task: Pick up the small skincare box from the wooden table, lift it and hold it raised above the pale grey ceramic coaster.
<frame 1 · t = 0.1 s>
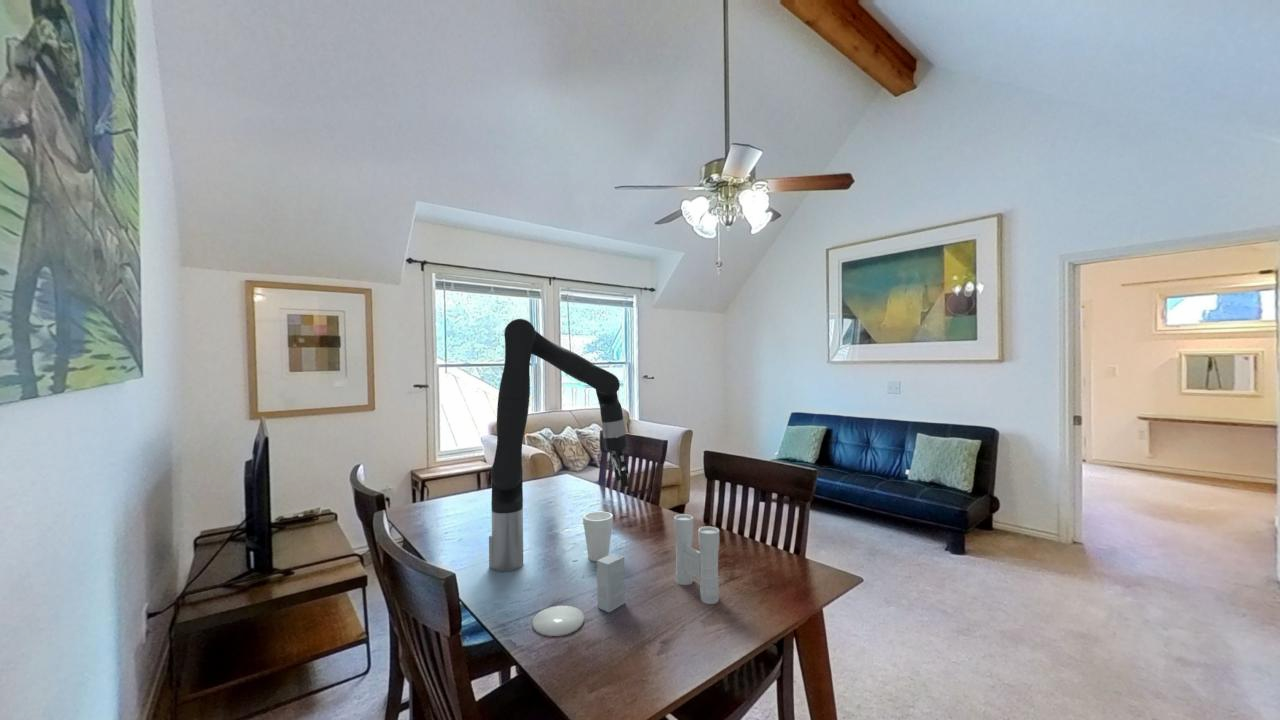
hand: (622, 483, 154), 22 cm above the table, tool pointing down, fingers open, 8 cm apart
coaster: (558, 621, 113), on the table
foam cup: (598, 557, 150), on the table
skincare box: (611, 606, 120), on the table
binoculars: (696, 590, 128), on the table
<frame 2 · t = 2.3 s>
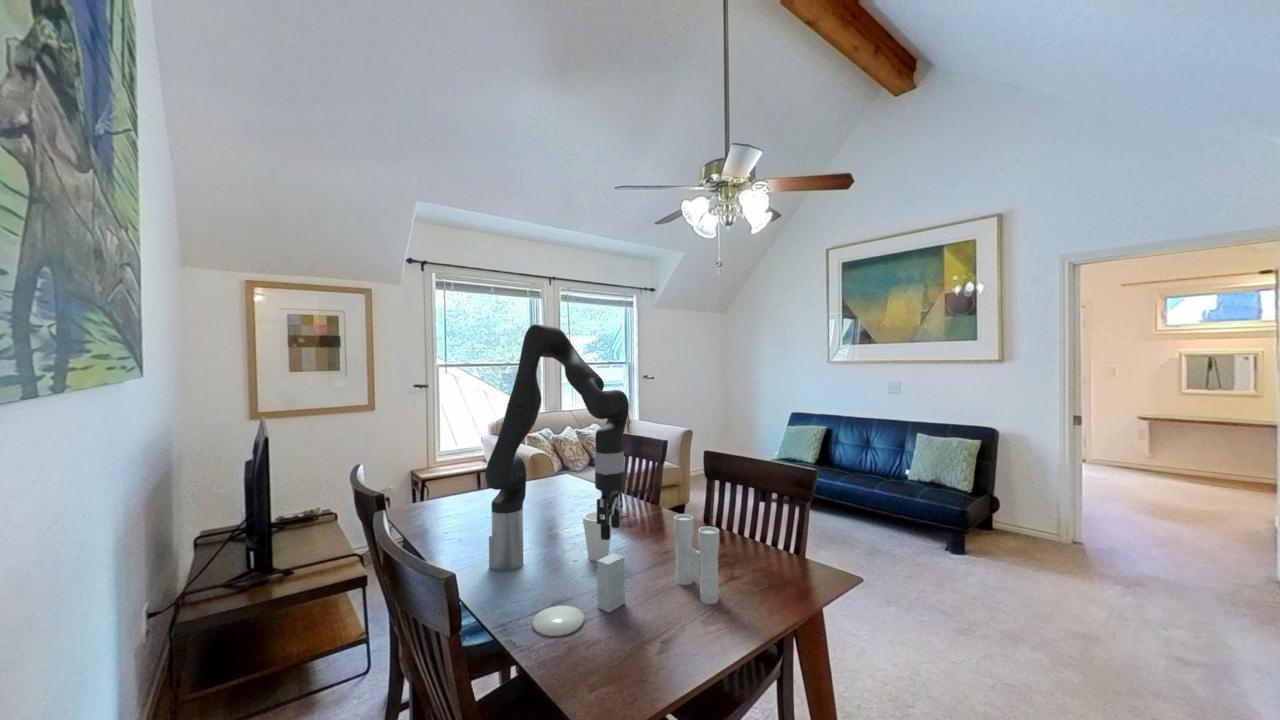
hand: (610, 533, 120), 18 cm above the table, tool pointing down, fingers open, 8 cm apart
nothing on the table moved.
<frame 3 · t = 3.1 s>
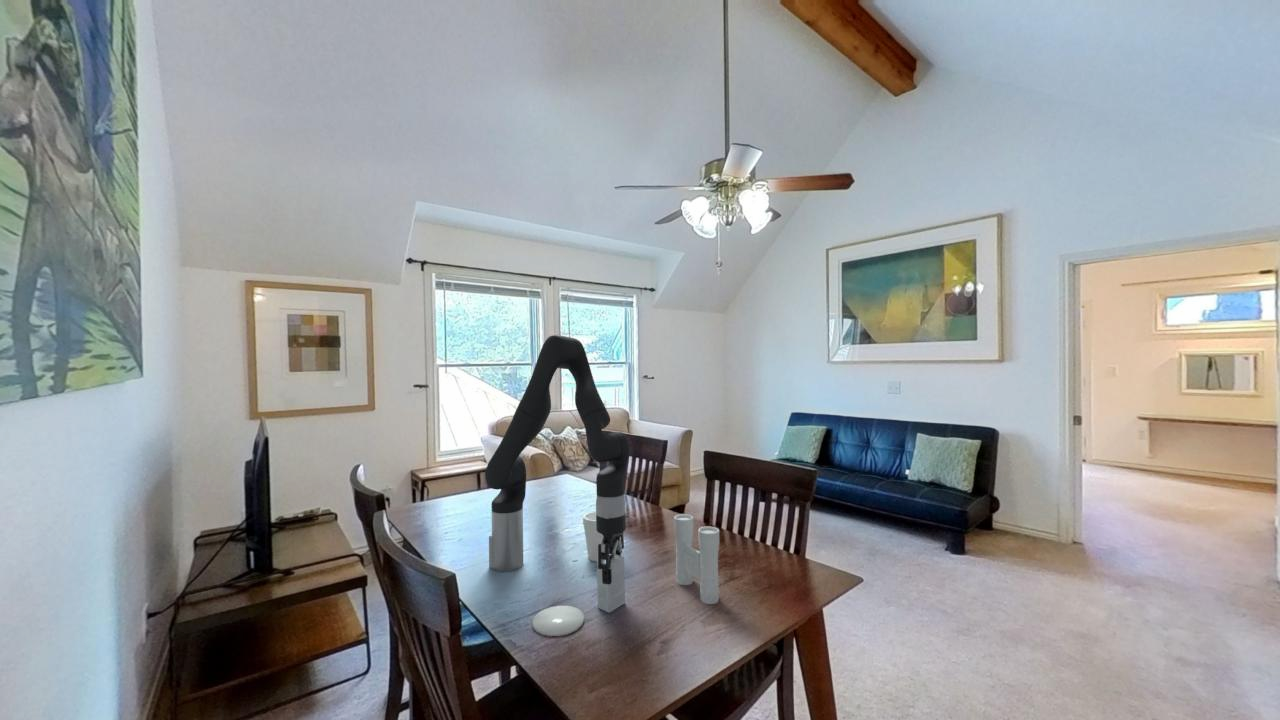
hand: (612, 575, 120), 7 cm above the table, tool pointing down, fingers open, 8 cm apart
nothing on the table moved.
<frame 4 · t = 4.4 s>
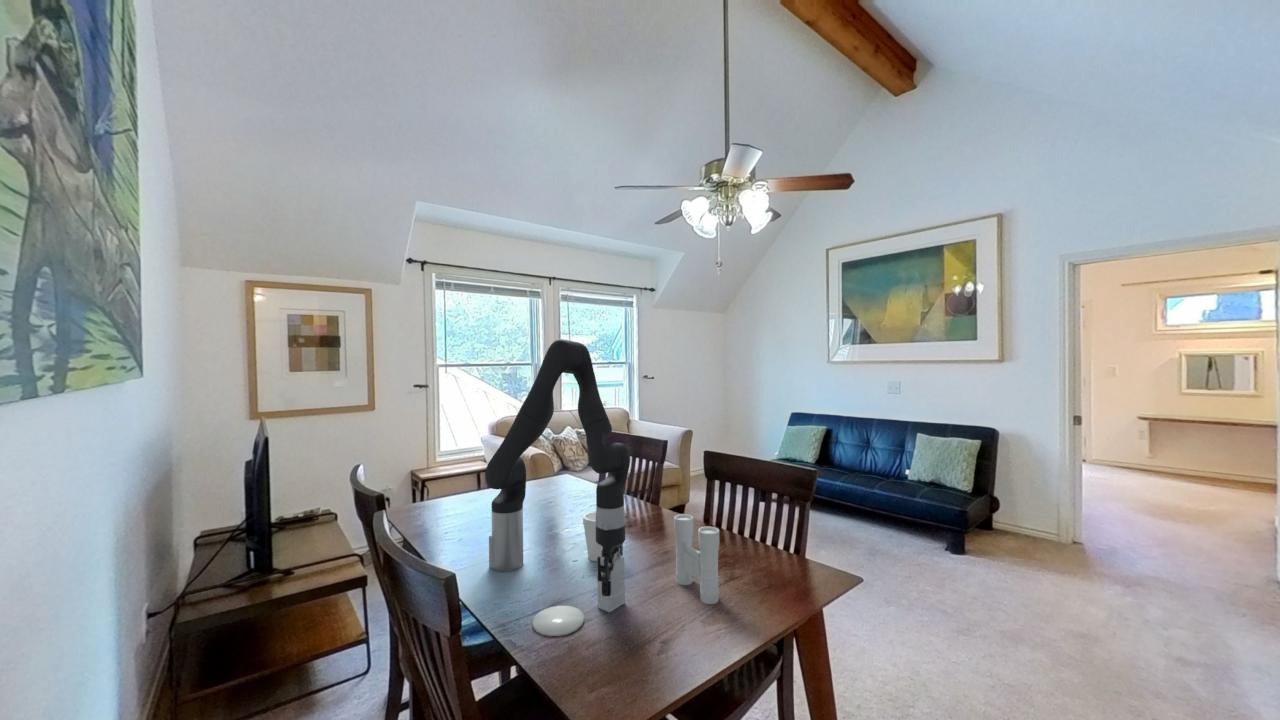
hand: (611, 588, 120), 4 cm above the table, tool pointing down, fingers closed on skincare box, 7 cm apart
skincare box: (611, 606, 120), on the table, touching gripper
everything else where it was.
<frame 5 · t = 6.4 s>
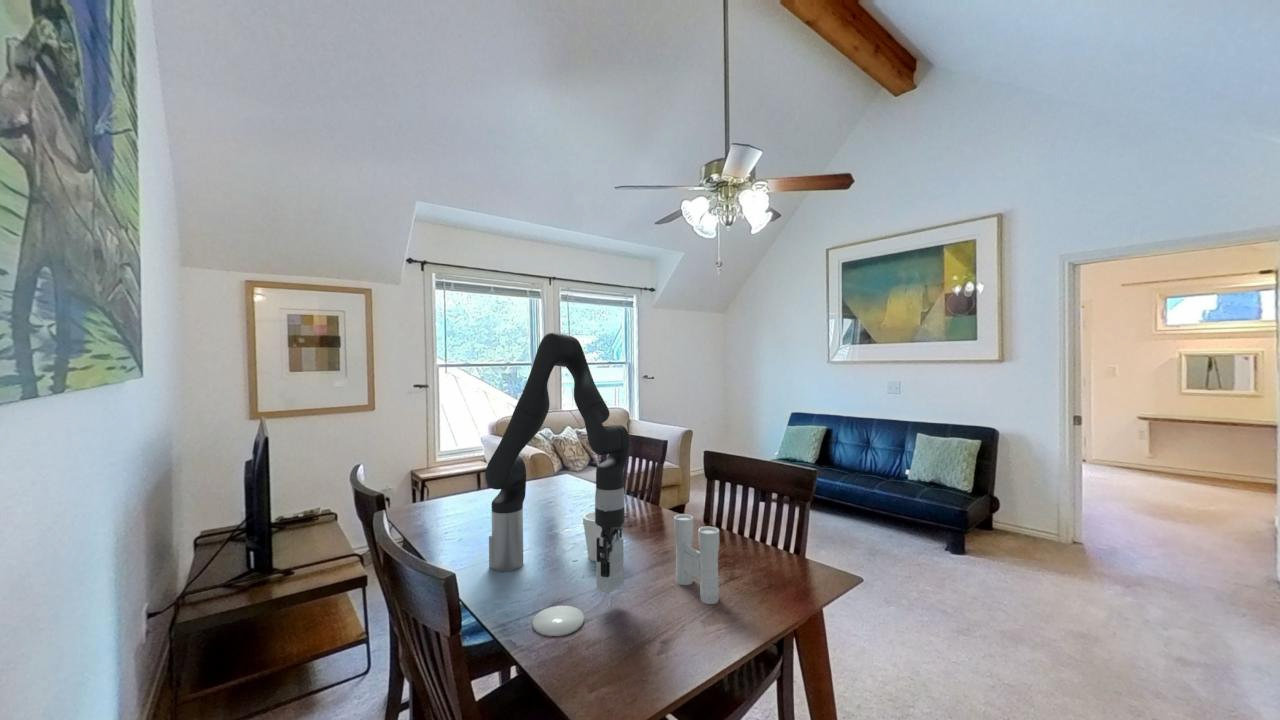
hand: (609, 569, 120), 9 cm above the table, tool pointing down, fingers closed on skincare box, 7 cm apart
skincare box: (610, 588, 120), point 4 cm above the table, touching gripper
everything else where it was.
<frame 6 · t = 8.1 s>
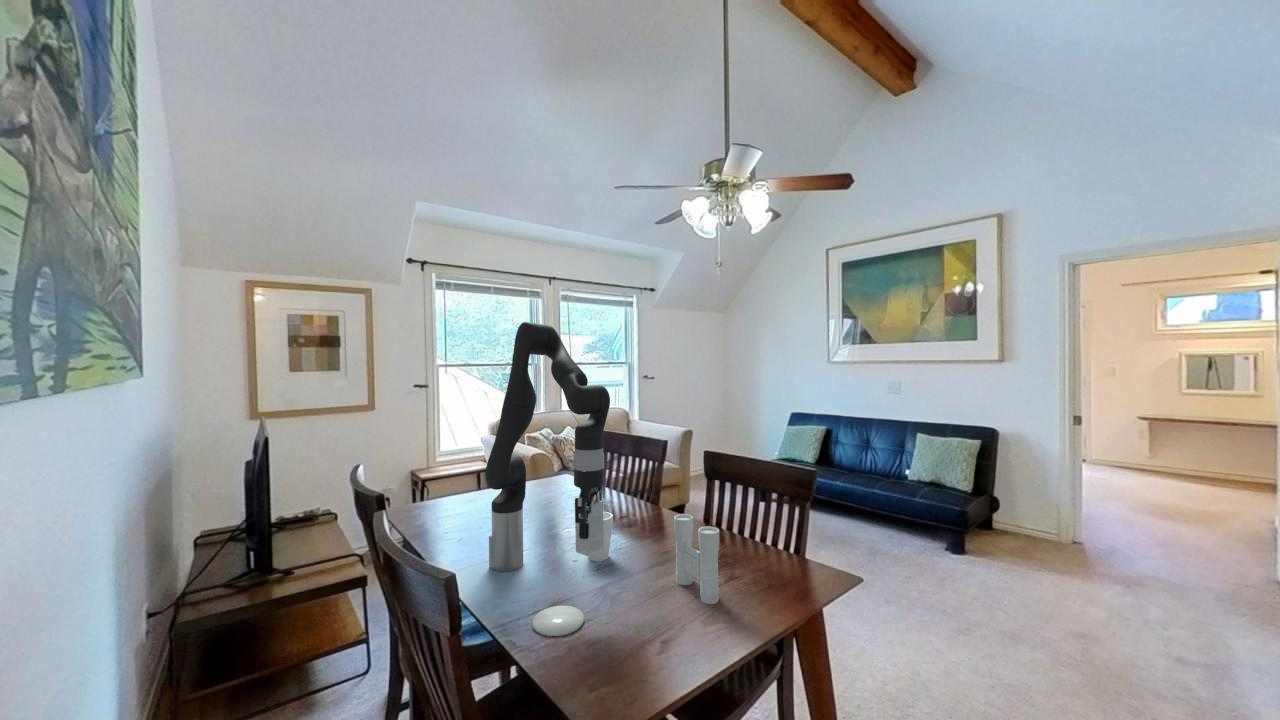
hand: (589, 532, 117), 19 cm above the table, tool pointing down, fingers closed on skincare box, 7 cm apart
skincare box: (589, 551, 117), point 15 cm above the table, touching gripper
everything else where it was.
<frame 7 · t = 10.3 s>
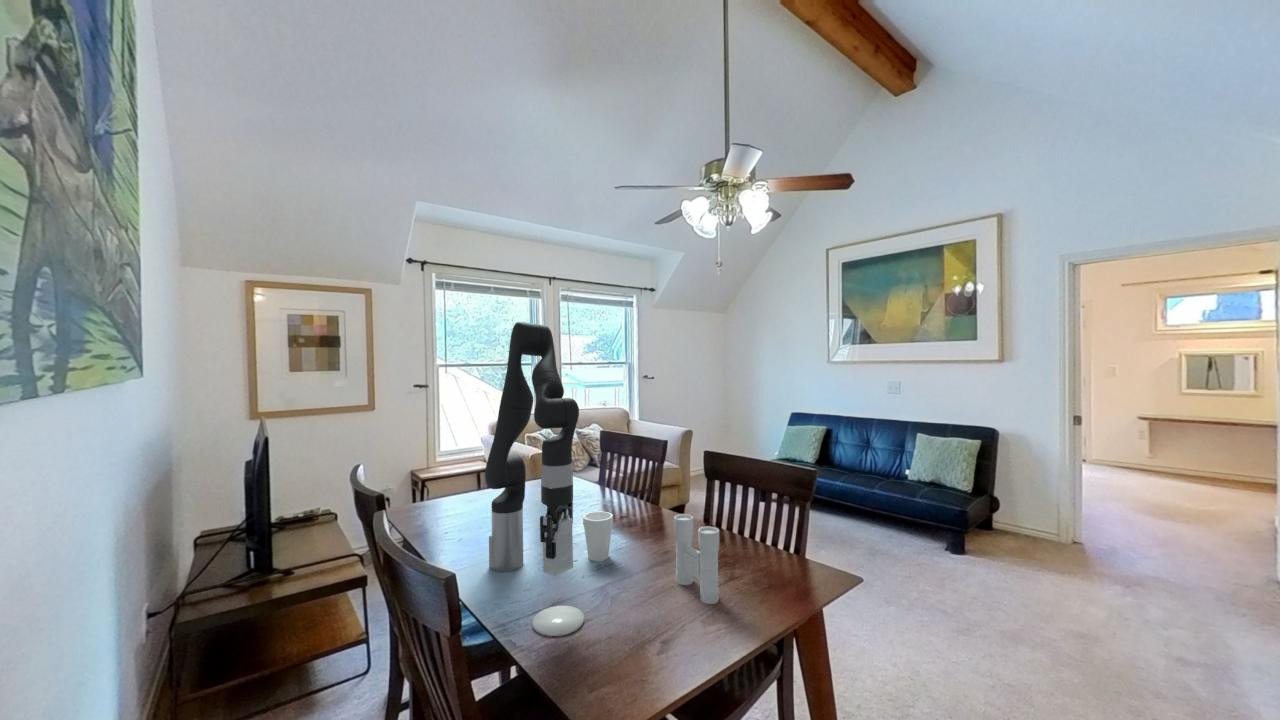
hand: (557, 551, 113), 17 cm above the table, tool pointing down, fingers closed on skincare box, 7 cm apart
skincare box: (557, 571, 113), point 12 cm above the table, touching gripper
everything else where it was.
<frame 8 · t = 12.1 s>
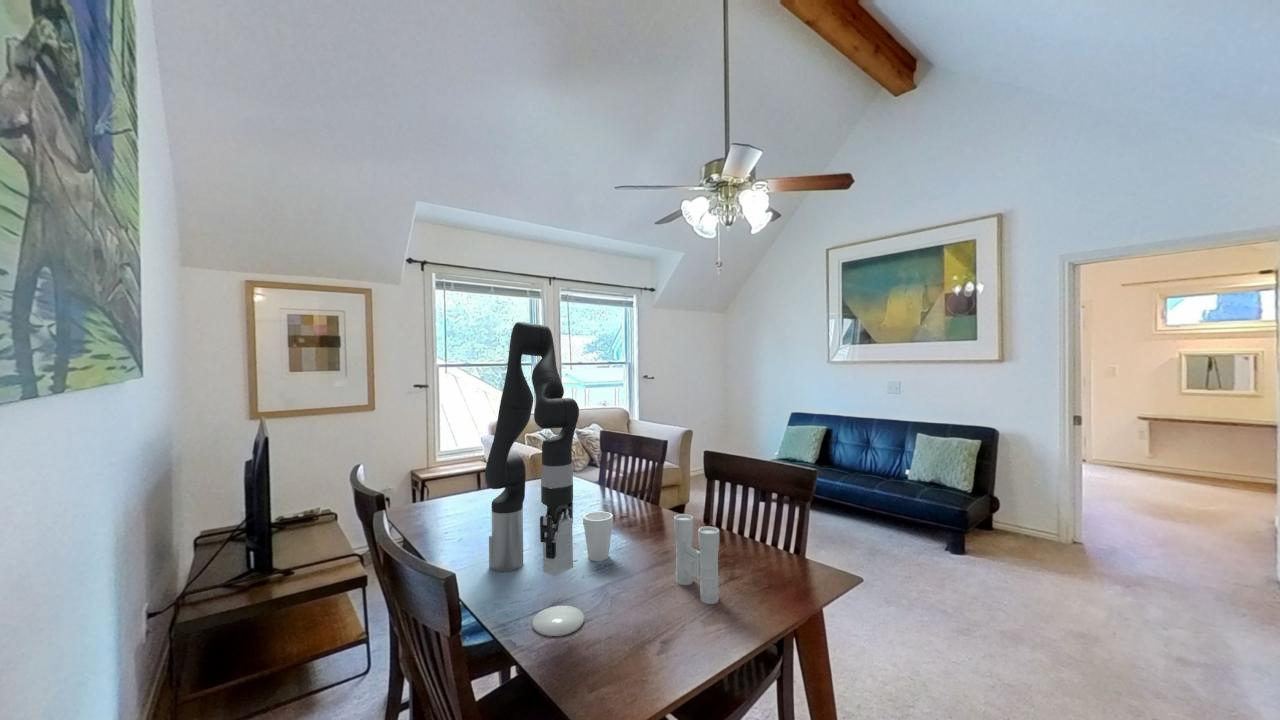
hand: (557, 551, 113), 17 cm above the table, tool pointing down, fingers closed on skincare box, 7 cm apart
skincare box: (557, 571, 113), point 12 cm above the table, touching gripper
everything else where it was.
at the end: the gripper is holding skincare box; skincare box inside the target area (0.1 cm from its centre), point 12.0 cm above the table; skincare box touching gripper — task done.
